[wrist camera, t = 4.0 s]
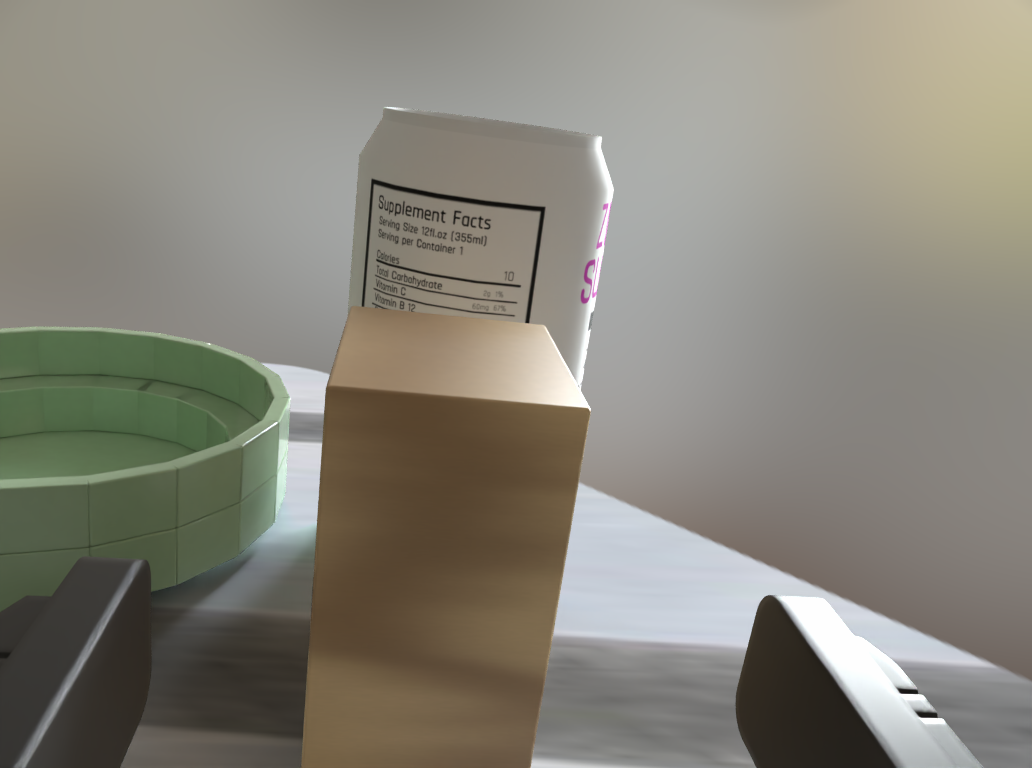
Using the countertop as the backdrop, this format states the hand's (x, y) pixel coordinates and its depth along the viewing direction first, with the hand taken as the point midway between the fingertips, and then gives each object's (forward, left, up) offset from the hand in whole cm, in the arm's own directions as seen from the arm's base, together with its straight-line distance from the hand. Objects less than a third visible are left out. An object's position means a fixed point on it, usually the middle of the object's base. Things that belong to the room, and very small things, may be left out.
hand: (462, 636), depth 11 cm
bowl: (+6, -22, -9) cm, 25 cm away
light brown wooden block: (-2, -6, -9) cm, 11 cm away
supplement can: (-7, -18, -9) cm, 21 cm away
